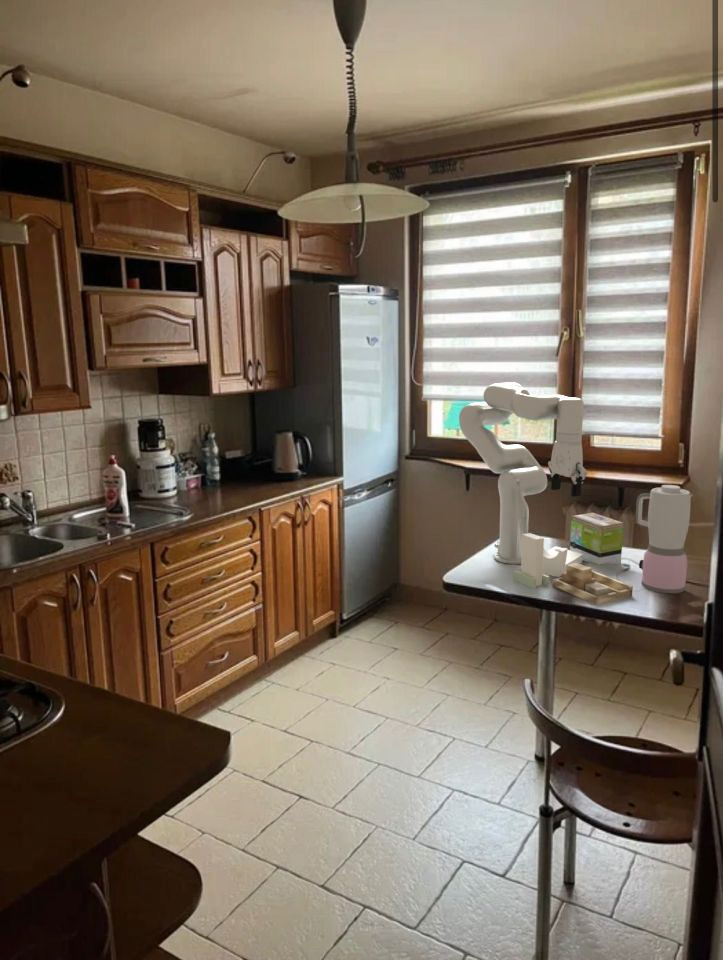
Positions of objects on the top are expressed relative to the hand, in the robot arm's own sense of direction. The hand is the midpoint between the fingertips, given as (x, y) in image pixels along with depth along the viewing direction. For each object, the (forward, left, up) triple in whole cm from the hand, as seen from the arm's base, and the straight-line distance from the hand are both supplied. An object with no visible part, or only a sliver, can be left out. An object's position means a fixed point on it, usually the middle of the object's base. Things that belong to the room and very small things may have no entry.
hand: (565, 492), depth 221 cm
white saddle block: (-6, +3, -28) cm, 29 cm away
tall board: (+1, -14, -27) cm, 30 cm away
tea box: (-8, +22, -28) cm, 37 cm away
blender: (+22, +18, -28) cm, 40 cm away
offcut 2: (+13, -5, -27) cm, 30 cm away
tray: (+16, -3, -28) cm, 32 cm away
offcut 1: (+13, -5, -23) cm, 26 cm away
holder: (+2, -14, -28) cm, 31 cm away
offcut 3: (+21, -6, -27) cm, 34 cm away
